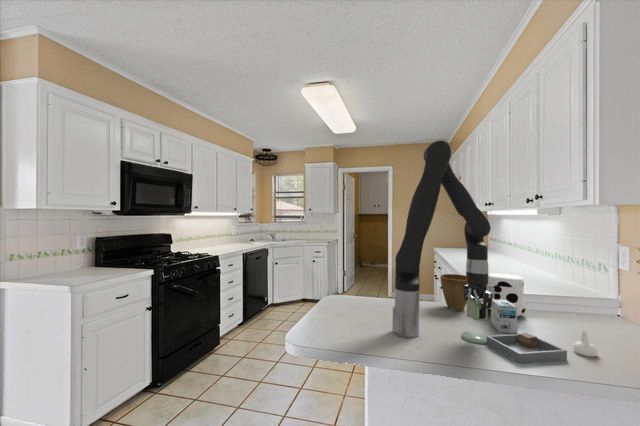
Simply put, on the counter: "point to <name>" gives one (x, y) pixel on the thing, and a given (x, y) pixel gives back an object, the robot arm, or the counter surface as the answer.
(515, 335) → the bin
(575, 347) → the garlic bulb
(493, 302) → the light bulb box
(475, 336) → the saucer
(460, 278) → the plant pot
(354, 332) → the counter surface
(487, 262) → the robot arm
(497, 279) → the milk container
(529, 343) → the walnut block
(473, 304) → the olive box
